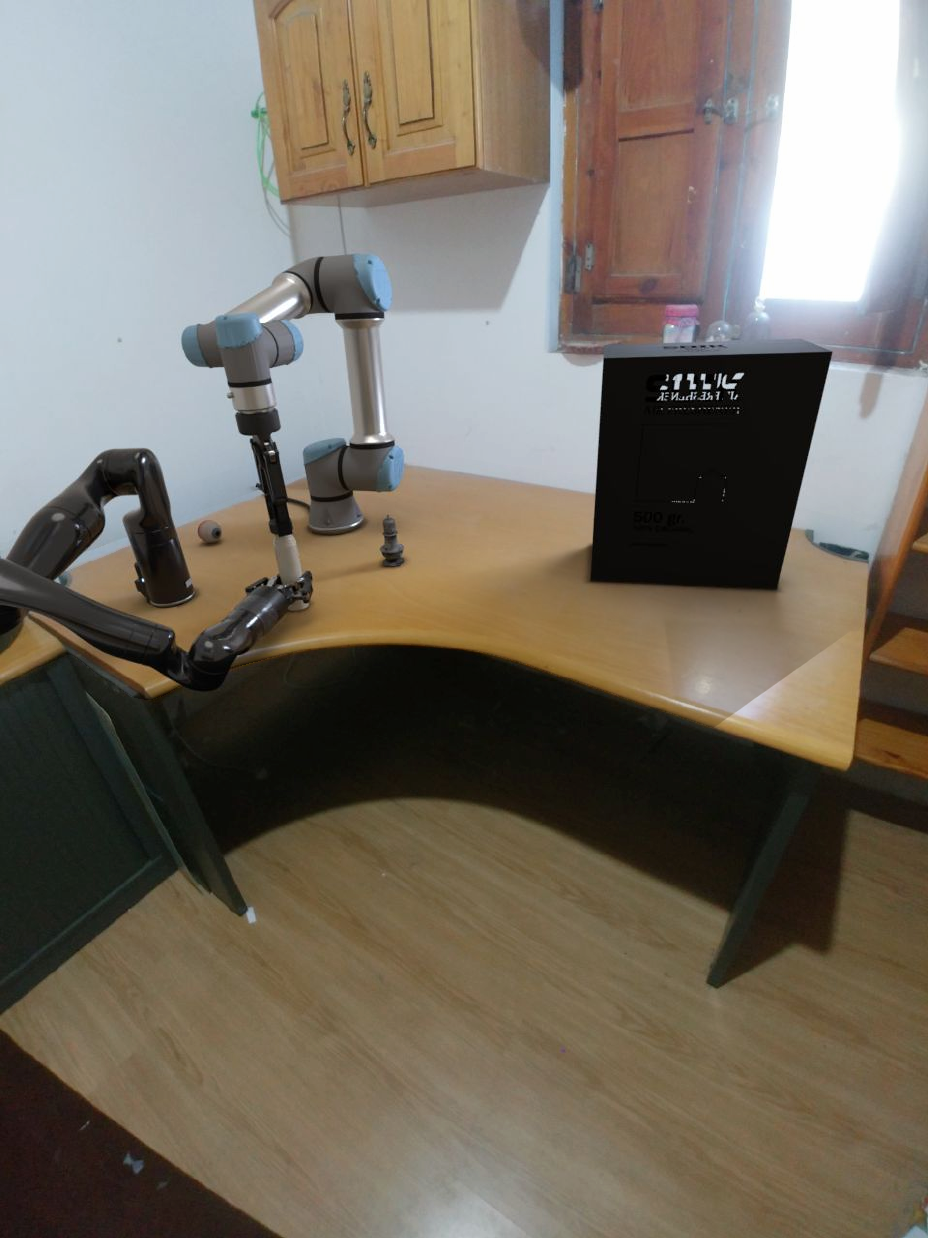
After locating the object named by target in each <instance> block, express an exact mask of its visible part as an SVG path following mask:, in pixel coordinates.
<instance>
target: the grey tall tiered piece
mask: <svg viewBox="0 0 928 1238" xmlns="http://www.w3.org/2000/svg"><path fill="white" fill-rule="evenodd" d="M382 528H383V529H382V530H383V532H382V536H383V538H384V544H383V545H381V546H380V547H379V551H380V553H381V555H382V557H383V558H384V559H383V560H382V564H383V565H384V566H386V567H396V566H400V565H402V564H404V562H405V558H404V557H402V555H403V553H404V550H405V546H404V544H402V543H400V542H399V541H398V534H399V532H398V531H397V527H396V521H395V519H394V518H393V517H390V515H389V514H386V517H385V518H383V520H382Z"/></svg>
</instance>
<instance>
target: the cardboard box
mask: <svg viewBox="0 0 928 1238" xmlns="http://www.w3.org/2000/svg"><path fill="white" fill-rule="evenodd" d="M833 353H834V352H833V350H830V349H827V348H826V347H825V348H824V347H822V346H821V345H818V344H815V343H813V342H810V341H808V340H805V339H802V338H783V339H782V338H781V339H779V338H777V339H776V338H775V339H749V340H747V339H746V340H723V341H722V340H720V341H719V340H718V341H689V342H687V341H685V342H683V341H682V342H657V343H654V342H653V343H627V344H625V343H624V344H623V343H621V344H604V345H603V359H602V362H603V363H602V375H601V389H600V390H601V392H600V409H599V424H598V425H599V426H598V427H599V428H598V442H597V457H596V458H597V459H596V460H597V461H596V475H595V493H594V496H595V497H594V508H593V509H594V510H593V525H592V527H593V528H592V541H591V557H590V558H591V560H590V575H589V576H590V577H589V580H590V582H603V583H622V584H623V583H625V584H626V583H628V584H645V585H647V584H648V585H669V586H670V585H671V586H693V587H712V588H714V587H715V588H734V589H735V588H737V589H755V590H757V589H758V590H759V589H760V590H778V586H779V582H780V577H781V574H782V570H783V565H784V561H785V556H786V553H787V548H788V543H789V539H790V536H791V531H792V526H793V522H794V519H795V513H796V510H797V505H798V501H799V497H800V493H801V489H802V484H803V480H804V476H805V471H806V467H807V464H808V463H807V462H808V458H809V455H810V450H811V446H812V442H813V437H814V434H815V430H816V425H817V421H818V417H819V411H820V407H821V404H822V400H823V399H822V398H823V394H824V390H825V386H826V381H827V378H828V374H829V369H830V366H831V360H832V356H833ZM738 374H742V376H741V377H740V378H735V376H736V375H738ZM678 375H681V379H680V380H679V384H678V388H675V385H676V379H675V377H676V376H678ZM689 375H693V380H692V381H691V379H688V376H689ZM702 375H704V379H702ZM719 378H720V382H719ZM724 378H725V382H724ZM723 382H724V385H730V384H731V385H734V388H725V387H724V386H723ZM691 383H692V385H695V388H691ZM705 385H710V388H704V386H705ZM662 387H666V389H662Z"/></svg>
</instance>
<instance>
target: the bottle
mask: <svg viewBox="0 0 928 1238" xmlns="http://www.w3.org/2000/svg"><path fill="white" fill-rule="evenodd" d="M273 535H274V537H273V541H272V542H273V543H272V546H273V552H274V555H275V560H276V564H277V569H278V572H279V573H278V574H280V578H281V582H282V585H284V584H286V583H288V582H290V581H291V580H293V581H296V580H297V579H299V578H300V577H301V576H302V575H303V574H304V572H303V568H302V562H301V558H300V554H299V548H298V544H297V541H296V538H295V537H294V536H293V534H291V535H287V536H283V537H279V536H278V535H275V534H273ZM298 588H300V584H299V585H298ZM309 606H310V602H309V603H307V604H305V603H303V601H302V600H297V601H295V603H293V604H291V605H289V607H288V609H287V610H288V611H291V612H298V611H302V610H304V609H306V608H308V607H309Z"/></svg>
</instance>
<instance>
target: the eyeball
mask: <svg viewBox="0 0 928 1238" xmlns="http://www.w3.org/2000/svg"><path fill="white" fill-rule="evenodd" d="M222 534H223V529H222V527H221V525H220V524H219V523H218V522H217V521H215V520H212V519H207V520H204V521H202V522H201V523H200V524H199V525H198V527H197V535H198V538H199V539H201V540H202V541H203V542H205V543H208V544H213V543H216V542H218V541H219V540H220V539H221V538H222Z"/></svg>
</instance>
